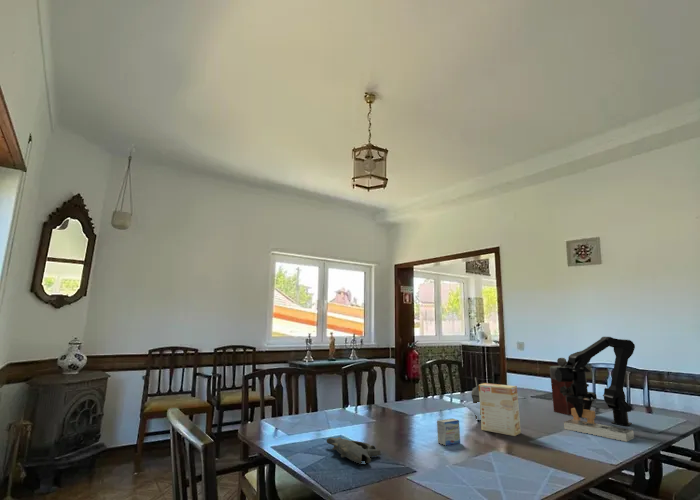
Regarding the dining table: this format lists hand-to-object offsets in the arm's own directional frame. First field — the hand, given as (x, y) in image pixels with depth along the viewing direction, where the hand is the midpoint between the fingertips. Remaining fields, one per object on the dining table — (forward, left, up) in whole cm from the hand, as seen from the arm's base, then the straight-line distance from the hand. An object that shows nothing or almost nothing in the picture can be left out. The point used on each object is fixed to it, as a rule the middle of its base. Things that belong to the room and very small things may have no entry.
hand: (583, 416), depth 181 cm
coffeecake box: (+41, -17, -4) cm, 45 cm away
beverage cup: (+30, -35, -4) cm, 46 cm away
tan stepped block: (0, 0, -4) cm, 4 cm away
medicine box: (+72, -20, -4) cm, 75 cm away
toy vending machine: (-20, -16, -4) cm, 26 cm away
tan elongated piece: (+110, -32, -4) cm, 114 cm away
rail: (+11, +10, -4) cm, 15 cm away
